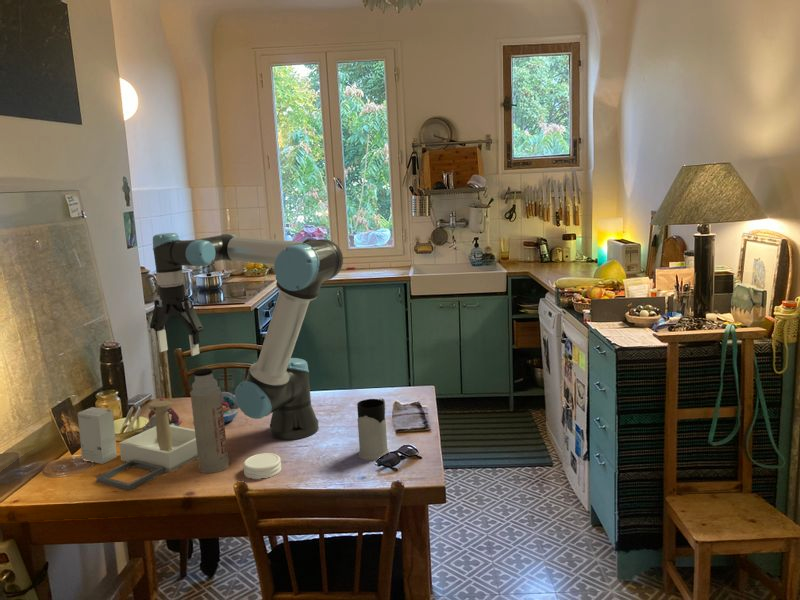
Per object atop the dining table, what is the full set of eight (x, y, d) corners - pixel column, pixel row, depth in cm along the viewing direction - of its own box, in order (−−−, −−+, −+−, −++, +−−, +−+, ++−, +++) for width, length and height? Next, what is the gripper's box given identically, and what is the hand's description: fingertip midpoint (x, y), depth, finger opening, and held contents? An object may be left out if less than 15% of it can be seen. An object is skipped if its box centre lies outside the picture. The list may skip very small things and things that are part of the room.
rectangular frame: (165, 472, 188) (164, 466, 188) (129, 490, 178) (128, 485, 178) (133, 464, 194) (132, 459, 194) (96, 482, 184) (96, 477, 184)
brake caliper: (192, 417, 223) (175, 397, 214) (179, 447, 216) (161, 427, 207) (162, 415, 226) (144, 395, 217) (148, 445, 219) (129, 425, 211)
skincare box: (82, 461, 198) (74, 413, 196) (98, 453, 204) (91, 406, 201) (104, 464, 195) (97, 415, 193) (119, 456, 201) (113, 408, 198)
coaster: (265, 461, 192) (264, 449, 192) (289, 469, 186) (288, 457, 185) (236, 474, 185) (235, 462, 184) (260, 483, 178) (259, 471, 178)
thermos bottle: (234, 463, 191) (224, 367, 186) (213, 475, 185) (202, 376, 179) (214, 458, 195) (204, 364, 190) (193, 469, 189) (181, 372, 183)
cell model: (204, 428, 219) (201, 400, 217) (216, 415, 231) (212, 388, 229) (235, 427, 218) (232, 399, 217) (245, 414, 230) (242, 387, 228)
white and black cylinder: (353, 458, 190) (349, 407, 187) (372, 438, 203) (369, 391, 200) (382, 461, 187) (379, 409, 184) (400, 441, 200) (397, 392, 197)
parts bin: (212, 450, 202) (210, 432, 201) (170, 472, 188) (168, 453, 187) (164, 440, 211) (162, 423, 210) (121, 460, 198) (118, 442, 197)
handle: (163, 447, 203) (157, 399, 200) (180, 450, 200) (174, 401, 197) (151, 454, 198) (145, 405, 195) (169, 456, 196) (163, 407, 193)
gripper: (210, 284, 203) (218, 352, 207) (151, 281, 215) (160, 346, 219) (191, 288, 196) (200, 359, 200) (132, 285, 208) (141, 352, 212)
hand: (179, 352), depth 210 cm, fingers open, 13 cm apart
